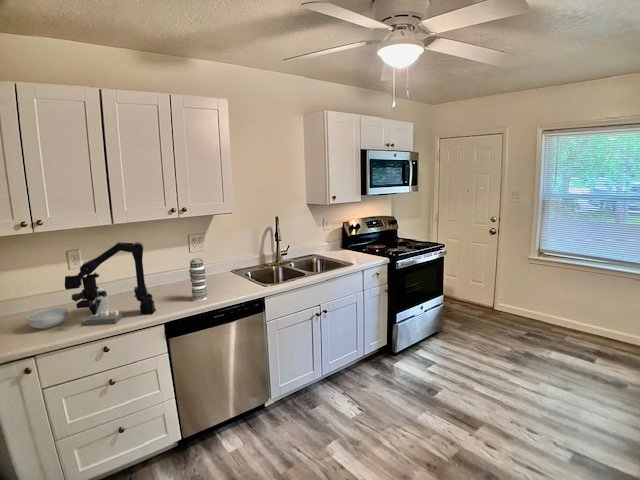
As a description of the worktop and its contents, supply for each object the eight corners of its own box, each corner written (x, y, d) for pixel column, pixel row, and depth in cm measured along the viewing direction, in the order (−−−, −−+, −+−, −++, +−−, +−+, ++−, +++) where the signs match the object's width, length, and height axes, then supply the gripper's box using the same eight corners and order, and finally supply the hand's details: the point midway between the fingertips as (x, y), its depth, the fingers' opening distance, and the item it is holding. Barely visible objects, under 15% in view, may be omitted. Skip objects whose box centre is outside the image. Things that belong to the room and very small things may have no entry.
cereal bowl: (27, 336, 174) (25, 322, 173) (29, 325, 188) (27, 312, 186) (69, 326, 184) (67, 313, 183) (68, 316, 197) (66, 304, 196)
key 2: (118, 314, 191) (118, 309, 191) (116, 316, 188) (115, 311, 188) (113, 315, 191) (112, 310, 191) (110, 317, 188) (109, 312, 188)
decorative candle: (189, 301, 215) (185, 261, 210) (194, 296, 224) (190, 257, 219) (205, 301, 215) (201, 260, 211) (209, 295, 224) (205, 257, 220)
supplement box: (104, 307, 209) (101, 287, 207) (110, 310, 205) (106, 289, 202) (90, 311, 204) (87, 290, 201) (95, 314, 199) (92, 293, 197)
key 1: (99, 318, 191) (98, 313, 190) (96, 320, 188) (95, 315, 187) (93, 318, 190) (92, 313, 190) (90, 320, 188) (89, 315, 187)
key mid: (109, 315, 191) (108, 310, 190) (106, 317, 188) (105, 312, 188) (103, 315, 191) (102, 310, 190) (100, 317, 188) (99, 312, 187)
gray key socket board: (124, 316, 195) (123, 311, 195) (115, 323, 186) (115, 318, 185) (95, 318, 194) (94, 312, 193) (85, 325, 184) (84, 320, 184)
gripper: (83, 281, 194) (88, 309, 197) (62, 293, 176) (67, 322, 179) (105, 280, 195) (109, 307, 198) (86, 291, 177) (91, 321, 180)
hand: (94, 314), depth 189 cm, fingers closed, pressing on key 1
